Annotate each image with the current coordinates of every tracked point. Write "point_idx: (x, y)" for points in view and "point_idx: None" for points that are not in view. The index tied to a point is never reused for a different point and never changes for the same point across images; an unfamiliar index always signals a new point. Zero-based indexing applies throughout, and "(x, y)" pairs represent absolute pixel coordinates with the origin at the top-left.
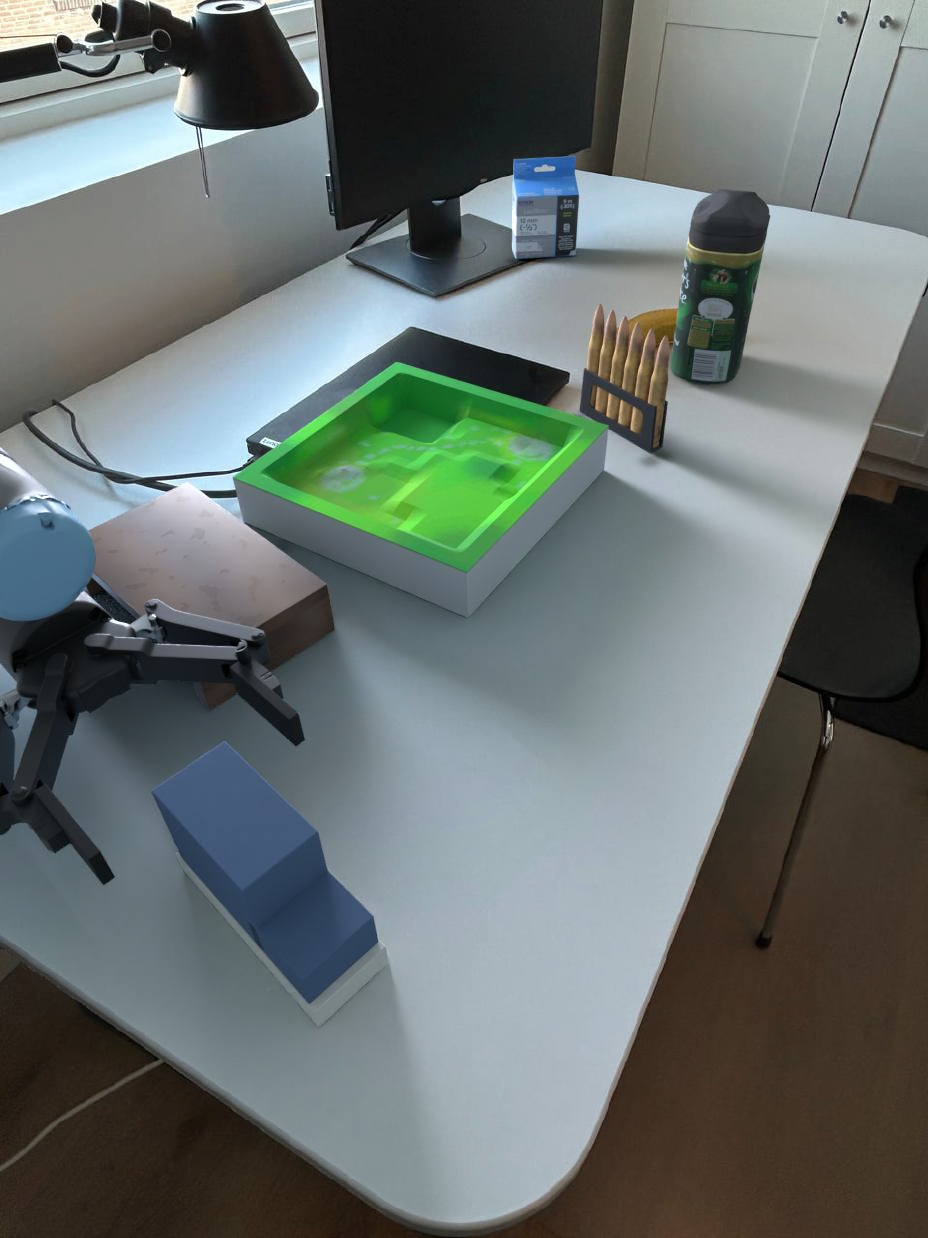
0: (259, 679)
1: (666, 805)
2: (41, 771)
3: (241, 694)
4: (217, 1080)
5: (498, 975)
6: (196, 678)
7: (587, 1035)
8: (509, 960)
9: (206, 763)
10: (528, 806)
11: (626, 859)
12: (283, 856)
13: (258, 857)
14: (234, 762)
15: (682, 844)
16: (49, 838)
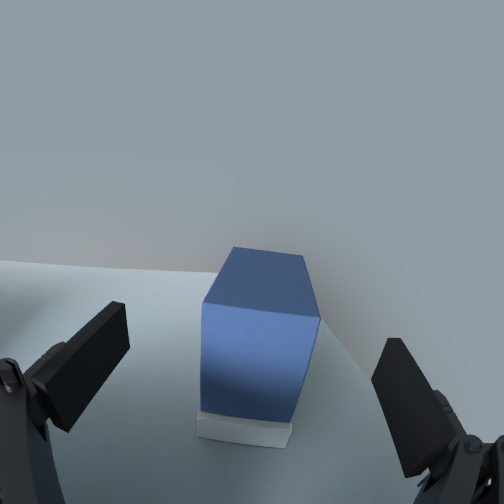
0: (64, 344)
1: (90, 274)
2: (439, 486)
3: (71, 415)
4: (340, 345)
5: (204, 296)
6: (59, 492)
7: (207, 277)
8: (194, 295)
9: (244, 301)
10: (103, 305)
11: (123, 279)
12: (264, 251)
13: (278, 256)
14: (222, 287)
15: (109, 270)
16: (434, 390)
